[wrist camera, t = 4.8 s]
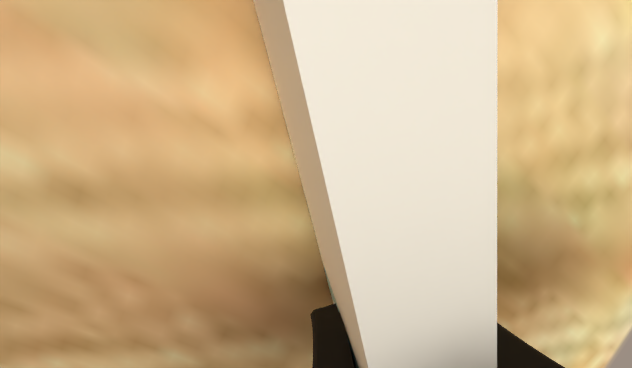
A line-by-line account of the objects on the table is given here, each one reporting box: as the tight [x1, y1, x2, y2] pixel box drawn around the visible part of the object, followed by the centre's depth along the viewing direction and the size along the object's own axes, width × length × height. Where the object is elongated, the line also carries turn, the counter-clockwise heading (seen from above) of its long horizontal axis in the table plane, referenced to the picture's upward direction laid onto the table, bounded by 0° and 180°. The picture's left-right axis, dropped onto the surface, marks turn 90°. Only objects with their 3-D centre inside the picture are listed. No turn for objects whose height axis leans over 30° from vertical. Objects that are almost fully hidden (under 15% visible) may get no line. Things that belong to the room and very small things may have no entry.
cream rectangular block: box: [253, 0, 497, 368], centre depth 7 cm, size 16×2×6 cm, turn 12°
